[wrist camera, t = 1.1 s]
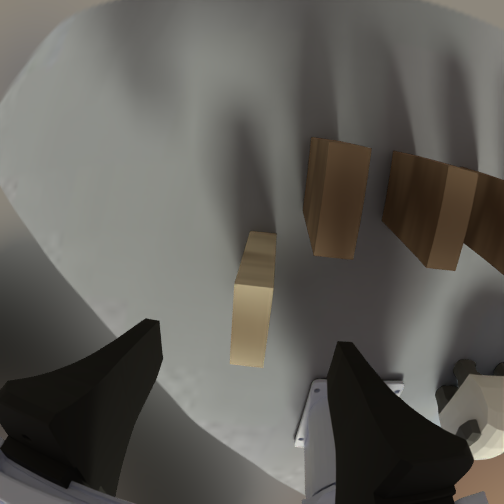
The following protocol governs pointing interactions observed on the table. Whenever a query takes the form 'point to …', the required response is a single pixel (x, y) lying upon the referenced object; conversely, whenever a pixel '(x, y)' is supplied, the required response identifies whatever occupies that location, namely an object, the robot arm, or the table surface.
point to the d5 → (335, 196)
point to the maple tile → (253, 300)
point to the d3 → (487, 220)
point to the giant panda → (475, 409)
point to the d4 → (429, 208)
